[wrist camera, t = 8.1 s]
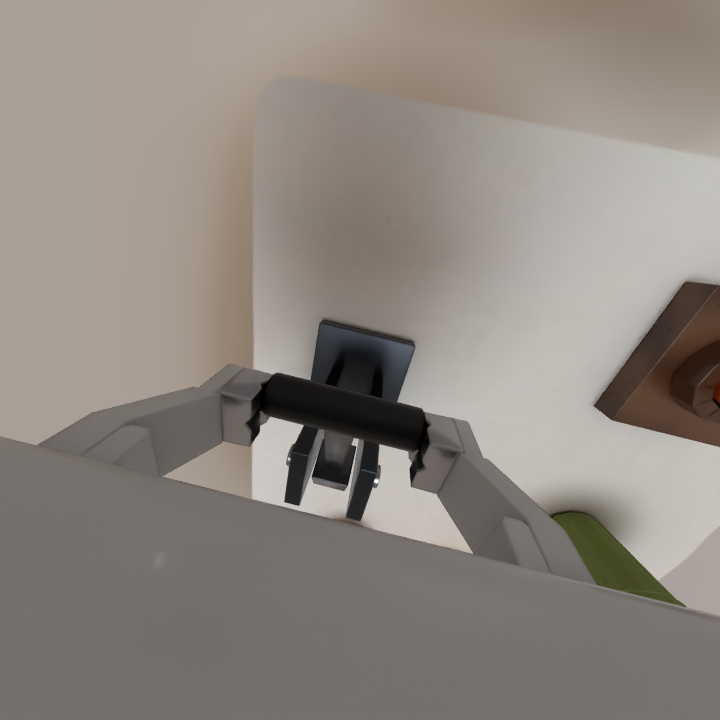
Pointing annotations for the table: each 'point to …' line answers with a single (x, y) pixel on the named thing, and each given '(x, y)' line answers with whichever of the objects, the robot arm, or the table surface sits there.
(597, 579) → the plant pot
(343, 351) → the bracket
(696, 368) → the button block
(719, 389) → the button
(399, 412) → the lever
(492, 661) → the robot arm
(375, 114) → the table surface
